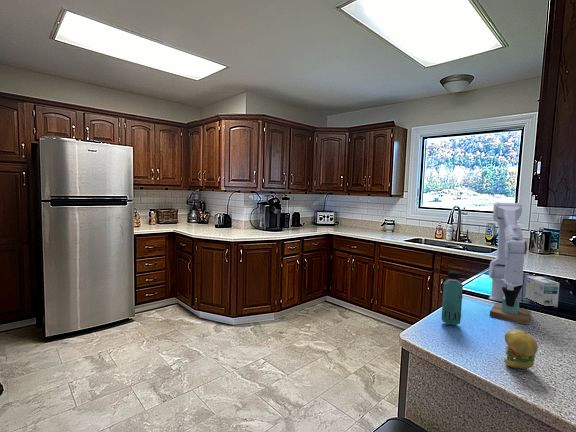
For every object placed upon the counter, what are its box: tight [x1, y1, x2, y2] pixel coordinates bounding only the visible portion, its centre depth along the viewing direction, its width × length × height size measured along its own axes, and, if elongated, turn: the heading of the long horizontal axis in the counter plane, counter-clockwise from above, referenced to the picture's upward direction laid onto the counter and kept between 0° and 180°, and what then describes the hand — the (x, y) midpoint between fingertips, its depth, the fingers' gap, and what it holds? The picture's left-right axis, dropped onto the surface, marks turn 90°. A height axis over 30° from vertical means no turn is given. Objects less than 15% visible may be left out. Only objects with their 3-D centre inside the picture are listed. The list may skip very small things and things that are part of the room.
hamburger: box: [503, 329, 539, 369], centre depth 88 cm, size 8×7×12 cm
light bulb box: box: [525, 275, 561, 308], centre depth 141 cm, size 11×7×11 cm, turn 179°
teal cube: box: [501, 296, 520, 314], centre depth 125 cm, size 5×5×5 cm
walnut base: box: [489, 302, 532, 326], centre depth 125 cm, size 12×12×2 cm
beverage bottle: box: [441, 270, 464, 326], centre depth 115 cm, size 6×7×20 cm
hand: (511, 303), depth 125 cm, fingers open, 6 cm apart
